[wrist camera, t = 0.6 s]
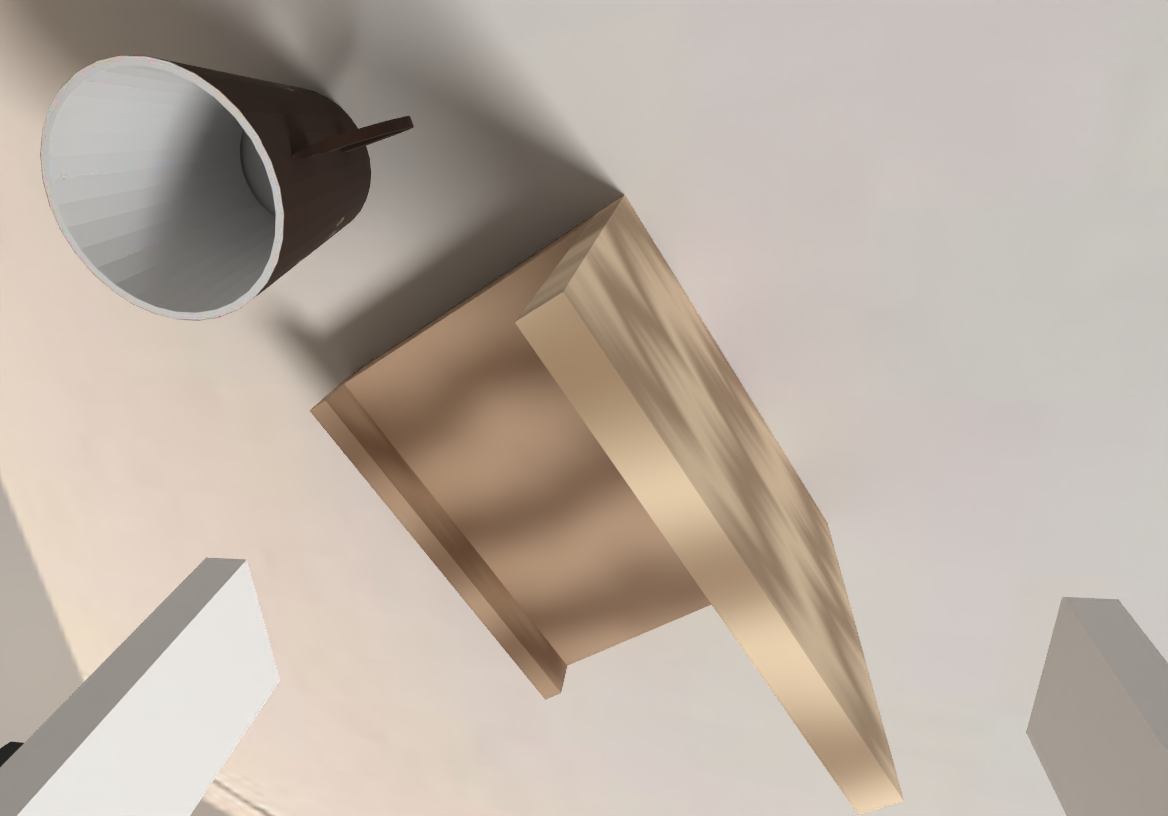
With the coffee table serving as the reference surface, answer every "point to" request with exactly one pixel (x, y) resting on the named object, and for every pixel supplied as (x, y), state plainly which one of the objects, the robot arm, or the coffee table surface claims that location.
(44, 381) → the coffee table surface
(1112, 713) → the robot arm
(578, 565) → the light brown blocky piece
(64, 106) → the coffee mug
